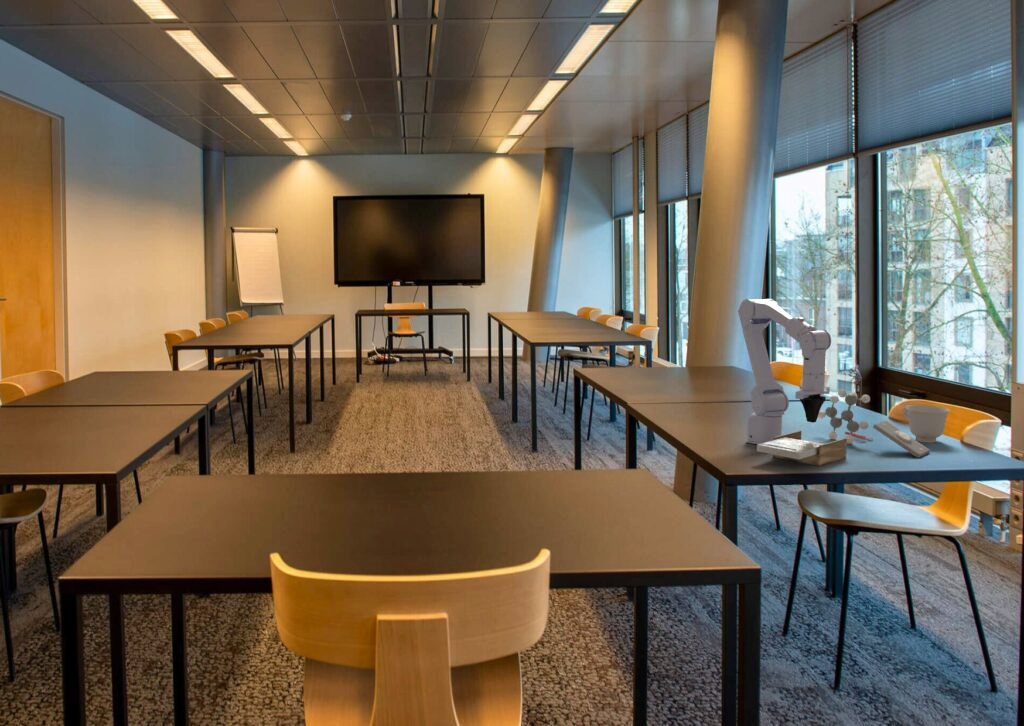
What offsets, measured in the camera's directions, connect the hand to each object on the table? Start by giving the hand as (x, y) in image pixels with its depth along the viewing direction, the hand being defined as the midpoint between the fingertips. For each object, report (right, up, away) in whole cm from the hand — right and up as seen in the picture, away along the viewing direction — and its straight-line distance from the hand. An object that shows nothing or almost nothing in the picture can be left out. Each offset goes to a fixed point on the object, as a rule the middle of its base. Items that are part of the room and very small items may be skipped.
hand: (811, 421), depth 218 cm
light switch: (+28, -9, +6) cm, 30 cm away
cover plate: (-8, -7, -7) cm, 13 cm away
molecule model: (+20, -7, +23) cm, 31 cm away
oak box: (-1, -10, 0) cm, 10 cm away
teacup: (+42, -7, +21) cm, 48 cm away
